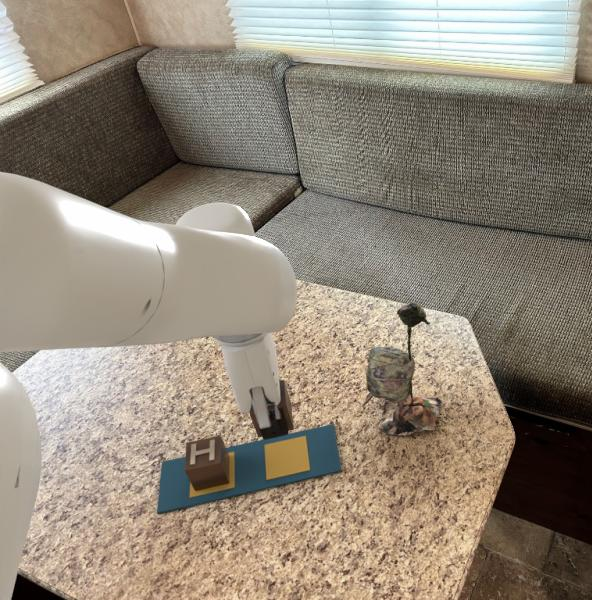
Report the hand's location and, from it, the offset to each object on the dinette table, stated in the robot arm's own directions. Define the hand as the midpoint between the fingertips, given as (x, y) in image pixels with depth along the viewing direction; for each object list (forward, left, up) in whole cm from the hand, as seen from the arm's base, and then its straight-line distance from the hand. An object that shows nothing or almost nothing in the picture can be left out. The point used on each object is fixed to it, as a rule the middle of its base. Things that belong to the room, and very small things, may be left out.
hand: (274, 418), depth 77 cm
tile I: (0, 0, 0) cm, 0 cm away
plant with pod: (+3, -17, -9) cm, 19 cm away
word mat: (0, +5, -9) cm, 10 cm away
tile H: (0, +10, -8) cm, 13 cm away
